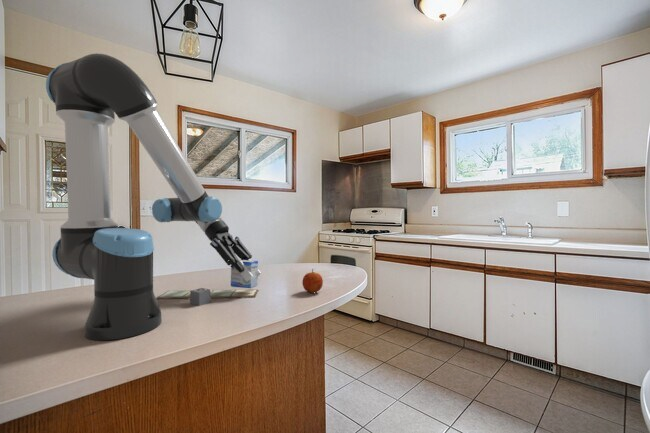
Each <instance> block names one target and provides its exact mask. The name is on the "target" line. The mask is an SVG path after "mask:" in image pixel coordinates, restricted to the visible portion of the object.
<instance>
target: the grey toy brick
mask: <svg viewBox="0 0 650 433" xmlns="http://www.w3.org/2000/svg"><path fill="white" fill-rule="evenodd" d="M191 290H192V289H191ZM210 290H211V289H209V288H205V287H204V288H203V287H200V288H196V289H193V290H192V291H190V298H189V300H190V302H189V304H190V305H193V306H198V307H201V306H204V305H207V304H210V303H211V299H212V298H211V295H210Z"/></svg>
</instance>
